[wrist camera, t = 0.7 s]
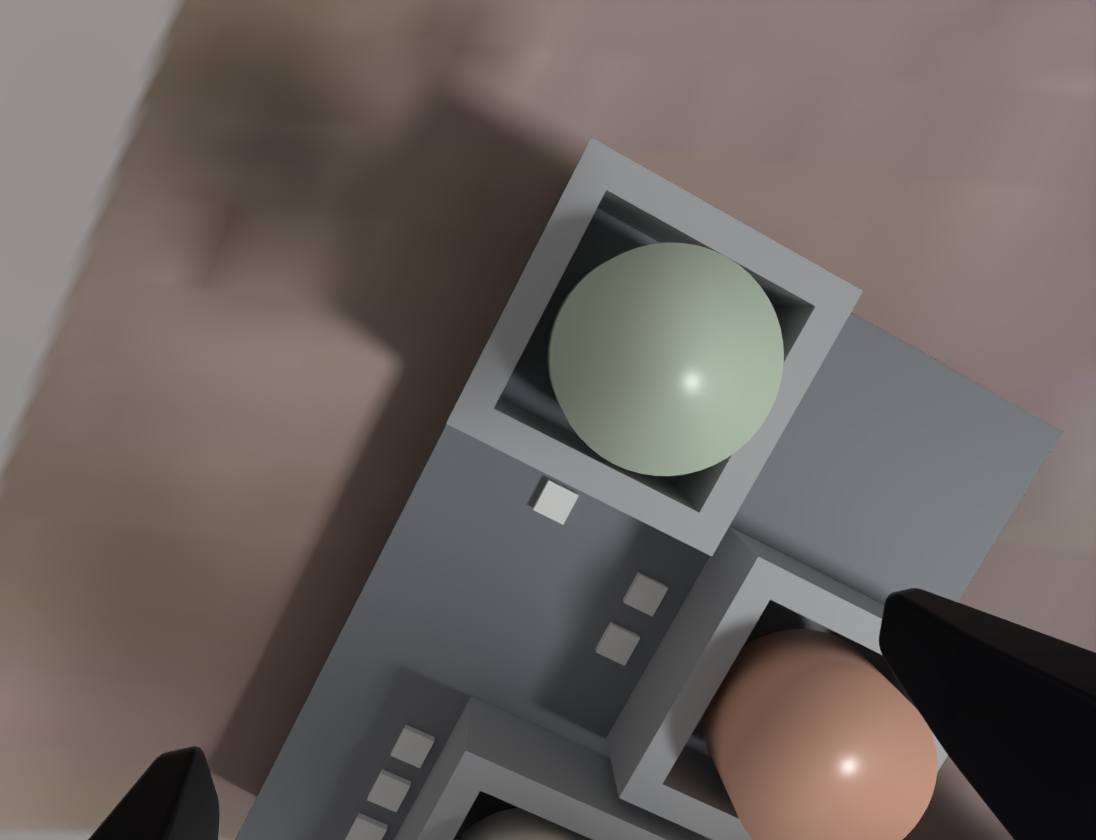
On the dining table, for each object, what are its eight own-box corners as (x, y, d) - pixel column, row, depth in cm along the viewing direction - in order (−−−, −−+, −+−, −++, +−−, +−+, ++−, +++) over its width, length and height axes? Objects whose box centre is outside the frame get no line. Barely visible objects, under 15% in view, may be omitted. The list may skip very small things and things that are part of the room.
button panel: (1012, 420, 22) (1142, 448, 17) (675, 973, 24) (713, 1125, 20) (573, 175, 20) (591, 137, 15) (256, 798, 22) (193, 920, 18)
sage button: (781, 311, 17) (826, 312, 15) (684, 485, 18) (712, 513, 15) (606, 215, 17) (622, 198, 14) (511, 397, 17) (511, 412, 15)
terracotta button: (915, 675, 19) (976, 730, 16) (823, 825, 19) (869, 900, 17) (760, 598, 18) (799, 644, 16) (669, 754, 19) (693, 821, 16)
